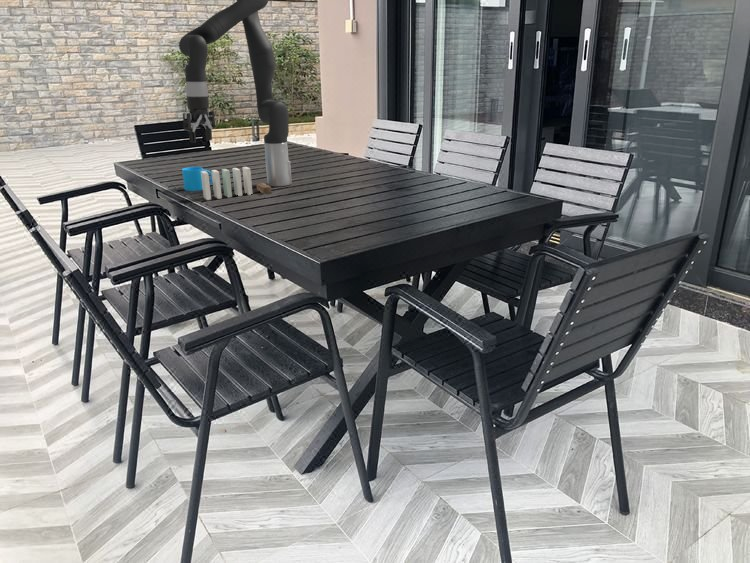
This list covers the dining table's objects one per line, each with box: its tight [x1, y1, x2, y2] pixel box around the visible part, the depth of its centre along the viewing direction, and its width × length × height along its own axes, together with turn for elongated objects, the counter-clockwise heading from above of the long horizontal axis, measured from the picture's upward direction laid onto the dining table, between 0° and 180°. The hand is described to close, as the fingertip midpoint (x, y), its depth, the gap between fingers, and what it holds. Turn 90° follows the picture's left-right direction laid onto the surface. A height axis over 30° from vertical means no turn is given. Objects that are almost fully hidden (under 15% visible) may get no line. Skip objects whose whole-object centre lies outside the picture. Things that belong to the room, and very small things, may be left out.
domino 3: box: [221, 168, 233, 199], centre depth 233 cm, size 2×5×10 cm, turn 29°
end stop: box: [255, 182, 272, 195], centre depth 241 cm, size 3×9×2 cm, turn 28°
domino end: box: [242, 166, 254, 196], centre depth 237 cm, size 2×5×10 cm, turn 28°
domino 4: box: [232, 167, 243, 197], centre depth 235 cm, size 2×5×10 cm, turn 28°
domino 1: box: [201, 171, 212, 201], centre depth 230 cm, size 2×5×10 cm, turn 28°
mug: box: [181, 166, 213, 192], centre depth 248 cm, size 12×8×8 cm
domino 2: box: [210, 169, 223, 199], centre depth 231 cm, size 2×5×10 cm, turn 28°
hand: (201, 141), depth 224 cm, fingers open, 8 cm apart
